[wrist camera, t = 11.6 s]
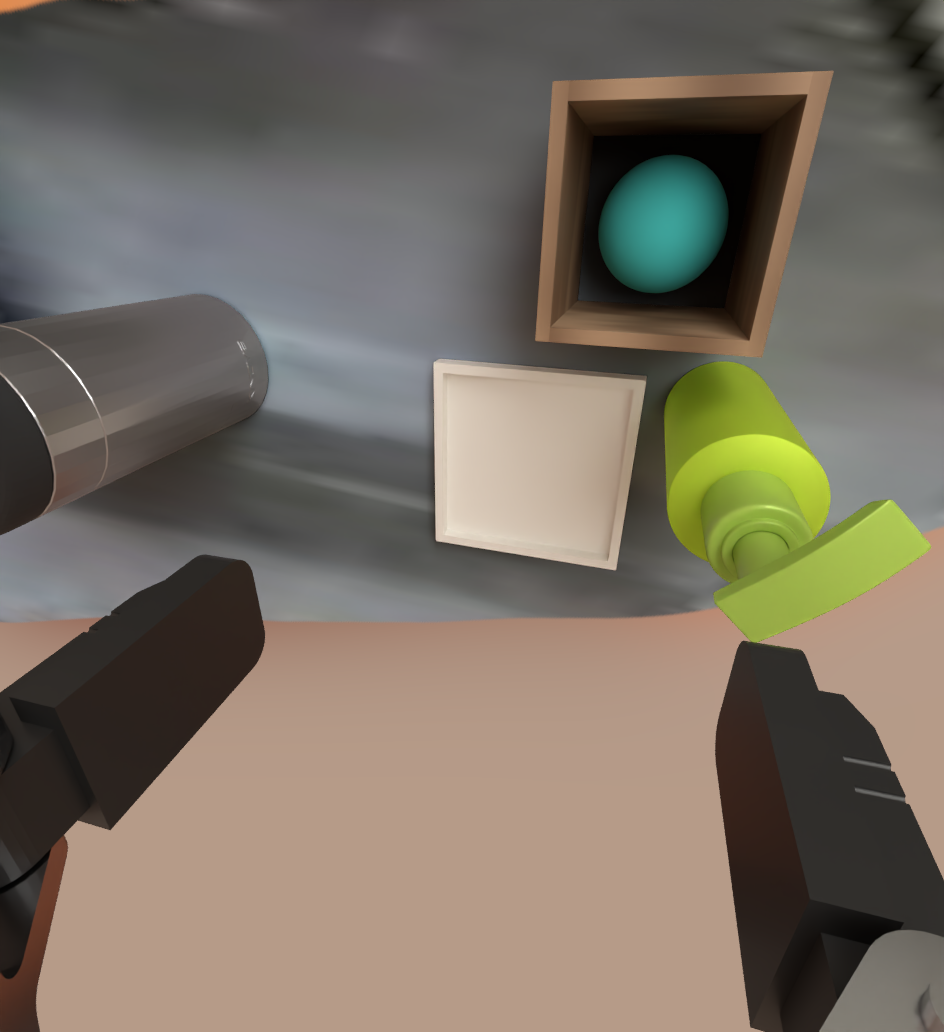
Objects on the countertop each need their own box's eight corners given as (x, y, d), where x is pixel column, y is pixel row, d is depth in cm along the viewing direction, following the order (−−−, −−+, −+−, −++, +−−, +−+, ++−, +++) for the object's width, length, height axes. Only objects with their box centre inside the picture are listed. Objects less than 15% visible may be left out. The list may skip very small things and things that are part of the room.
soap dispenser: (811, 403, 32) (985, 609, 15) (705, 476, 36) (749, 711, 19) (745, 325, 31) (849, 450, 14) (643, 408, 35) (629, 586, 18)
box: (566, 310, 34) (535, 341, 25) (583, 122, 29) (552, 81, 21) (740, 321, 31) (771, 358, 23) (786, 118, 27) (845, 70, 19)
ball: (610, 160, 30) (601, 148, 25) (734, 160, 28) (751, 147, 23) (597, 284, 33) (586, 296, 27) (708, 289, 31) (719, 303, 26)
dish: (441, 533, 43) (435, 540, 42) (439, 358, 37) (433, 362, 36) (616, 561, 40) (615, 570, 39) (646, 375, 34) (646, 380, 33)
